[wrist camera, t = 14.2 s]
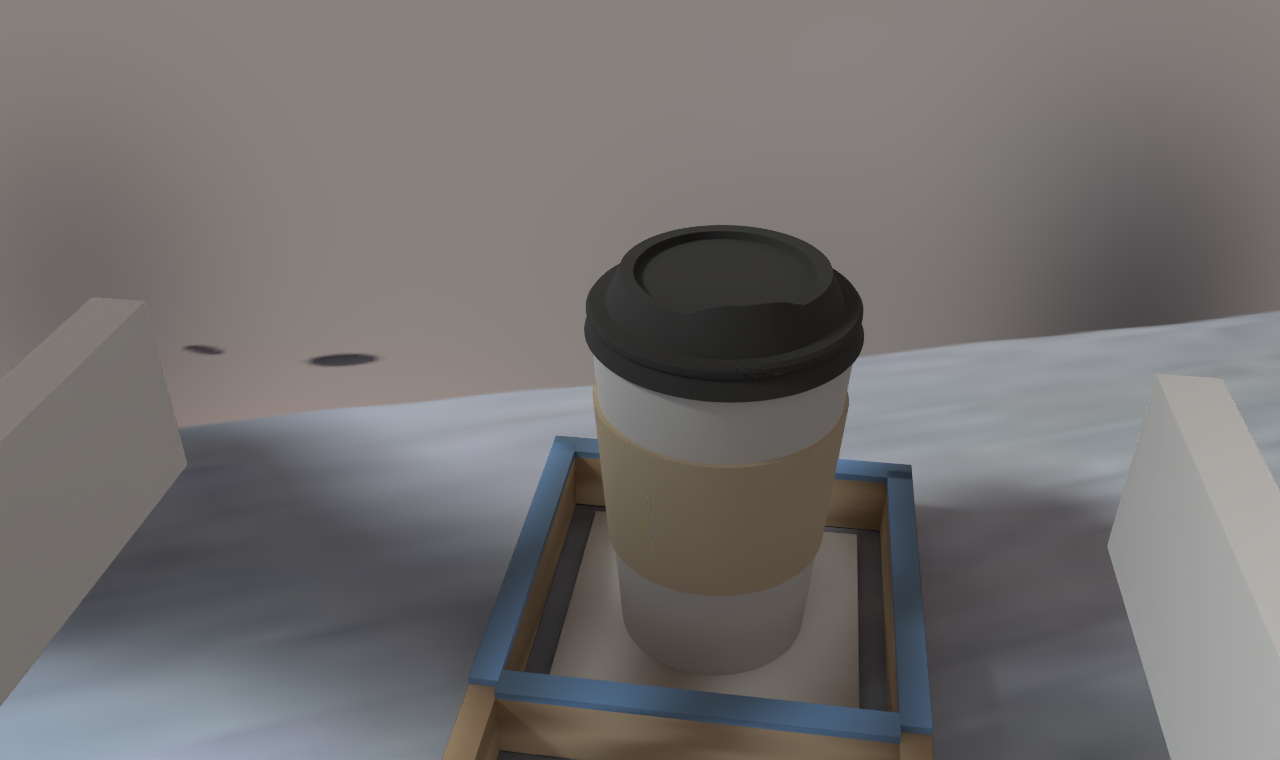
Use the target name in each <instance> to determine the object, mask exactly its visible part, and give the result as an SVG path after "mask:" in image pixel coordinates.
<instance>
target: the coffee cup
mask: <svg viewBox="0 0 1280 760" xmlns="http://www.w3.org/2000/svg"><path fill="white" fill-rule="evenodd" d="M586 314H587V317H586V321H585V326H584V332H585V338H586V342H587V344H588V346H589V348H590V350H591V351H592V353H593V357H594V366H595V374H596V381H595V384H594V388H593V402H594V411H595V419H596V428H597V437H598V445H599V454H600V463H601V471H602V480H603V488H604V497H605V506H606V514H607V523H608V532H609V537H610V540H611V543H612V546H613V548H614V549H615V552H616V561H617V570H618V579H619V588H620V597H621V606H622V614H623V621H624V624H625V627H626V630H627V632H628V634H629V635H630V637H631V639H632V640H633V641H634V642H635V644H636V645H637V646H638V647H639V648H640V649H641V650H642V651H643V652H645V653H646V654H647V655H649V656H650V657H652V658H653V659H655V660H657V661H658V662H660V663H662V664H664V665H667V666H669V667H672V668H674V669H677V670H681V671H685V672H689V673H694V674H701V675H730V674H737V673H743V672H747V671H750V670H754V669H757V668H759V667H762V666H764V665H766V664H768V663H770V662H772V661H774V660H775V659H777V658H778V657H780V656H781V655H782V654H783V653H785V652H786V651H787V650H788V649H789V648H790V647H791V645H792V644H793V643H794V641H795V640H796V638H797V636H798V634H799V632H800V629H801V626H802V621H803V616H804V611H805V606H806V600H807V595H808V590H809V585H810V580H811V575H812V569H813V564H814V559H815V556H816V554H817V552H818V551H819V548H820V546H821V542H822V538H823V533H824V528H825V523H826V518H827V513H828V507H829V502H830V497H831V492H832V487H833V482H834V477H835V472H836V467H837V462H838V457H839V452H840V447H841V442H842V437H843V432H844V427H845V422H846V417H847V412H848V406H849V397H848V392H847V389H848V384H849V379H850V373H851V368H852V364H853V363H854V362H855V360H856V359H857V357H858V356H859V354H860V352H861V350H862V346H863V342H864V332H863V327H862V318H863V304H862V300H861V298H860V296H859V294H858V292H857V291H856V290H855V288H854V287H853V285H852V284H851V283H850V282H849V281H848V280H847V279H846V278H845V277H844V276H843V275H841V274H840V273H839V272H837V271H836V270H834V269H833V268H832V266H831V264H830V262H829V260H828V259H827V257H826V256H825V255H824V254H823V253H822V252H820V251H819V250H818V249H816V248H815V247H813V246H812V245H810V244H808V243H807V242H805V241H802V240H800V239H798V238H795V237H793V236H790V235H787V234H783V233H780V232H776V231H772V230H767V229H761V228H755V227H747V226H733V225H713V226H712V225H711V226H697V227H690V228H683V229H678V230H673V231H670V232H666V233H662V234H659V235H656V236H654V237H651V238H649V239H646V240H644V241H643V242H641V243H639V244H637V245H636V246H634V247H633V248H632V249H631V250H629V251H628V252H627V253H626V254H625V256H624V257H623V259H622V261H621V263H620V264H619V265H616V266H615V267H613V268H612V269H610V270H609V271H607V272H606V273H605V274H604V275H603V276H602V277H601V278H600V279H599V280H598V281H597V282H596V283H595V284H594V285H593V287H592V288H591V290H590V292H589V294H588V297H587V300H586Z"/></svg>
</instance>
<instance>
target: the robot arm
mask: <svg viewBox="0 0 1280 760" xmlns="http://www.w3.org/2000/svg"><path fill="white" fill-rule="evenodd" d="M187 465H188V464H187V460H186V456H185V452H184V449H183V445H182V441H181V437H180V433H179V429H178V425H177V422H176V418H175V414H174V410H173V406H172V402H171V398H170V395H169V391H168V387H167V383H166V380H165V376H164V372H163V368H162V364H161V360H160V356H159V352H158V349H157V345H156V341H155V337H154V333H153V330H152V326H151V322H150V318H149V314H148V310H147V306H146V302H145V301H137V300H136V301H135V300H122V299H109V298H94V297H92V298H91V299H90V300H89V301H88V302H86V303H85V304H84V305H83V306H82V307H81V308H80V309H79V310H78V311H77V312H75V313H74V314H73V315H72V316H71V317H70V318H69V319H67V320H66V321H65V322H64V323H63V324H62V325H61V326H60V327H59V328H57V329H56V330H55V331H54V332H53V333H52V334H51V335H50V336H49V337H48V338H46V340H44V341H43V342H42V343H41V344H40V345H39V346H37V347H36V348H35V349H34V350H33V351H32V352H31V353H30V354H29V355H27V356H26V357H25V358H24V359H23V360H22V361H21V362H20V363H18V364H17V365H16V366H15V367H14V368H13V369H12V370H11V371H10V372H8V373H7V374H6V375H5V376H4V377H3V378H2V379H1V380H0V706H1V705H2V704H3V702H4V701H5V700H6V698H7V697H8V696H9V695H10V693H11V692H12V691H13V689H14V688H15V687H16V686H17V684H18V683H19V682H20V680H21V679H22V678H23V677H24V675H25V674H26V673H27V671H28V670H29V669H30V667H31V666H32V665H33V664H34V662H35V661H36V660H37V658H38V657H39V656H40V655H41V653H42V652H43V651H44V649H45V648H46V647H47V646H48V644H49V643H50V642H51V640H52V639H53V638H54V637H55V635H56V634H57V633H58V631H59V630H60V629H61V628H62V626H63V625H64V624H65V622H66V621H67V620H68V618H69V617H70V616H71V615H72V613H73V612H74V611H75V609H76V608H77V607H78V606H79V604H80V603H81V602H82V600H83V599H84V598H85V597H86V595H87V594H88V593H89V591H90V590H91V589H92V588H93V586H94V585H95V584H96V582H97V581H98V580H99V578H100V577H101V576H102V575H103V573H104V572H105V571H106V569H107V568H108V567H109V566H110V564H111V563H112V562H113V560H114V559H115V558H116V557H117V555H118V554H119V553H120V551H121V550H122V549H123V548H124V546H125V545H126V544H127V542H128V541H129V540H130V538H131V537H132V536H133V535H134V533H135V532H136V531H137V529H138V528H139V527H140V526H141V524H142V523H143V522H144V520H145V519H146V518H147V517H148V515H149V514H150V513H151V511H152V510H153V509H154V508H155V506H156V505H157V504H158V502H159V501H160V500H161V498H162V497H163V496H164V495H165V493H166V492H167V491H168V489H169V488H170V487H171V486H172V484H173V483H174V482H175V480H176V479H177V478H178V477H179V475H180V474H181V473H182V471H183V470H184V469H185V468H186V466H187ZM1107 548H1108V551H1109V554H1110V558H1111V561H1112V564H1113V568H1114V571H1115V574H1116V578H1117V581H1118V584H1119V588H1120V591H1121V594H1122V598H1123V601H1124V604H1125V608H1126V611H1127V614H1128V618H1129V621H1130V625H1131V628H1132V631H1133V635H1134V638H1135V641H1136V645H1137V648H1138V651H1139V655H1140V658H1141V661H1142V665H1143V668H1144V671H1145V675H1146V678H1147V681H1148V685H1149V688H1150V691H1151V695H1152V698H1153V701H1154V705H1155V708H1156V711H1157V715H1158V718H1159V721H1160V725H1161V728H1162V731H1163V735H1164V738H1165V741H1166V745H1167V748H1168V751H1169V755H1170V758H1171V760H1280V489H1279V487H1278V486H1277V484H1276V482H1275V480H1274V478H1273V476H1272V474H1271V472H1270V470H1269V468H1268V466H1267V464H1266V463H1265V461H1264V459H1263V457H1262V455H1261V453H1260V451H1259V449H1258V447H1257V445H1256V443H1255V441H1254V439H1253V438H1252V436H1251V434H1250V432H1249V430H1248V428H1247V426H1246V424H1245V422H1244V420H1243V418H1242V416H1241V414H1240V413H1239V411H1238V409H1237V407H1236V405H1235V403H1234V401H1233V399H1232V397H1231V395H1230V393H1229V391H1228V389H1227V388H1226V386H1225V384H1224V382H1223V380H1222V379H1221V378H1207V377H1194V376H1180V375H1166V374H1156V376H1155V380H1154V383H1153V387H1152V390H1151V394H1150V397H1149V401H1148V404H1147V408H1146V411H1145V415H1144V418H1143V422H1142V425H1141V429H1140V432H1139V436H1138V439H1137V443H1136V446H1135V450H1134V453H1133V457H1132V460H1131V464H1130V467H1129V471H1128V474H1127V478H1126V482H1125V485H1124V489H1123V492H1122V496H1121V499H1120V503H1119V506H1118V510H1117V513H1116V517H1115V520H1114V524H1113V527H1112V531H1111V534H1110V538H1109V541H1108V545H1107Z"/></svg>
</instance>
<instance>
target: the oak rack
mask: <svg viewBox="0 0 1280 760" xmlns="http://www.w3.org/2000/svg"><path fill="white" fill-rule="evenodd" d="M576 504H588V505H599V506H605V497H604V488H603V480H602V471H601V463H600V454H599V445H598V439H590V438H577V437H565V436H556V437H555V440H554V443H553V446H552V448H551V451H550V454H549V457H548V459H547V462H546V465H545V468H544V470H543V473H542V476H541V479H540V481H539V484H538V487H537V490H536V492H535V495H534V498H533V501H532V503H531V506H530V509H529V512H528V515H527V517H526V520H525V523H524V526H523V528H522V531H521V534H520V537H519V539H518V542H517V545H516V548H515V550H514V553H513V556H512V559H511V561H510V564H509V567H508V570H507V572H506V575H505V578H504V581H503V583H502V586H501V589H500V592H499V595H498V597H497V600H496V603H495V606H494V608H493V611H492V614H491V617H490V619H489V622H488V625H487V628H486V630H485V633H484V636H483V639H482V641H481V644H480V647H479V650H478V652H477V655H476V658H475V661H474V663H473V666H472V669H471V672H470V675H469V677H468V678H469V686H468V689H467V691H466V694H465V697H464V700H463V702H462V705H461V708H460V711H459V714H458V716H457V719H456V722H455V725H454V727H453V730H452V733H451V736H450V739H449V741H448V744H447V747H446V750H445V753H444V755H443V758H442V760H497V758H498V755H499V752H500V750H502V751H510V752H519V753H527V754H536V755H544V756H553V757H561V758H570V759H578V760H933V747H932V730H933V725H932V713H931V701H930V688H929V676H928V664H927V652H926V639H925V627H924V615H923V603H922V590H921V578H920V566H919V554H918V541H917V529H916V517H915V505H914V493H913V480H912V468H911V465H904V464H892V463H880V462H868V461H856V460H844V459H838V462H837V467H836V472H835V477H834V482H833V487H832V492H831V497H830V502H829V507H828V513H827V518H826V523H825V526H833V527H844V528H855V529H866V530H877V531H880V539H881V563H882V588H883V613H884V637H885V662H886V686H887V711H888V712H887V711H878V710H869V709H860V708H859V641H858V573H857V534H846V533H835V532H824V533H823V538H822V542H821V546H820V548H819V551H818V552H817V554H816V556H815V559H814V564H813V569H812V575H811V580H810V585H809V590H808V595H807V600H806V606H805V611H804V616H803V621H802V626H801V629H800V632H799V634H798V636H797V638H796V640H795V641H794V643H793V644H792V645H791V647H790V648H789V649H788V650H787V651H786V652H785V653H783V654H782V655H781V656H780V657H778V658H777V659H775V660H774V661H772V662H770V663H768V664H766V665H764V666H762V667H759V668H757V669H754V670H750V671H747V672H743V673H737V674H730V675H701V674H694V673H689V672H685V671H681V670H677V669H674V668H672V667H669V666H667V665H664V664H662V663H660V662H658V661H657V660H655V659H653V658H652V657H650V656H649V655H647V654H646V653H645V652H643V651H642V650H641V649H640V648H639V647H638V646H637V645H636V644H635V642H634V641H633V640H632V639H631V637H630V635H629V634H628V632H627V630H626V627H625V624H624V621H623V614H622V606H621V597H620V588H619V579H618V570H617V561H616V552H615V549H614V548H613V546H612V543H611V540H610V537H609V532H608V523H607V514H606V512H603V511H596V513H595V516H594V520H593V523H592V527H591V530H590V534H589V537H588V541H587V544H586V548H585V551H584V555H583V558H582V562H581V565H580V569H579V572H578V576H577V579H576V583H575V586H574V590H573V593H572V597H571V600H570V604H569V607H568V611H567V614H566V618H565V621H564V625H563V628H562V632H561V635H560V639H559V642H558V646H557V649H556V653H555V656H554V660H553V663H552V667H551V670H550V674H549V675H548V674H539V673H530V672H524V671H525V668H526V665H527V662H528V658H529V655H530V652H531V649H532V646H533V642H534V639H535V636H536V633H537V629H538V626H539V623H540V620H541V617H542V613H543V610H544V607H545V604H546V600H547V597H548V594H549V591H550V588H551V584H552V581H553V578H554V575H555V571H556V568H557V565H558V562H559V559H560V555H561V552H562V549H563V546H564V542H565V539H566V536H567V533H568V530H569V526H570V523H571V520H572V517H573V513H574V510H575V507H576Z"/></svg>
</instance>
